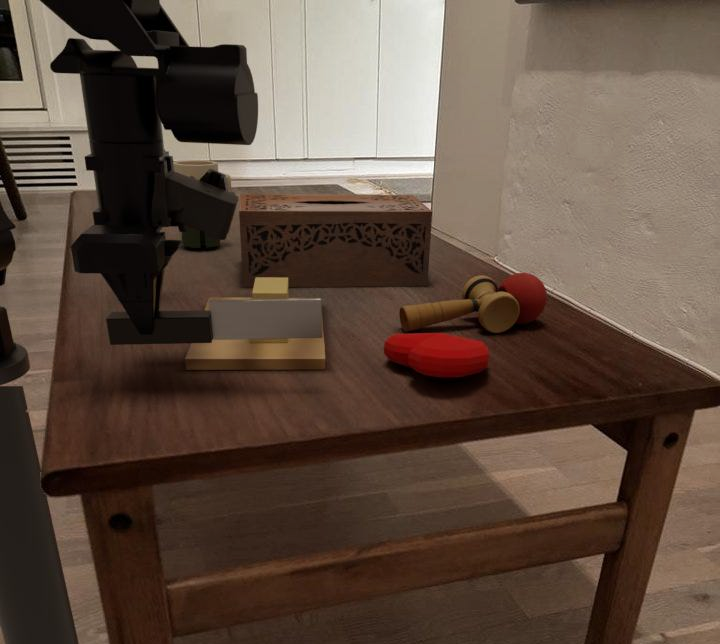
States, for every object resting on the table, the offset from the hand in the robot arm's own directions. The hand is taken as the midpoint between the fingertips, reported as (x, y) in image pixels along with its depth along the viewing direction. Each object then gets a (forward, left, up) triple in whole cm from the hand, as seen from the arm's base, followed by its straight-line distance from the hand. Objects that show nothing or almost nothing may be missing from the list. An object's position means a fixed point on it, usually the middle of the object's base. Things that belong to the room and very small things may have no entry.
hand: (149, 329), depth 67 cm
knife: (+6, 0, -1) cm, 6 cm away
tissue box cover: (+18, +44, -6) cm, 48 cm away
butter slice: (+10, +11, -5) cm, 16 cm away
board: (+9, +16, -6) cm, 19 cm away
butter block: (+10, +22, -5) cm, 24 cm away
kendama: (+34, +19, -6) cm, 39 cm away
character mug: (-3, +61, -6) cm, 61 cm away
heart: (+28, +4, -6) cm, 29 cm away
